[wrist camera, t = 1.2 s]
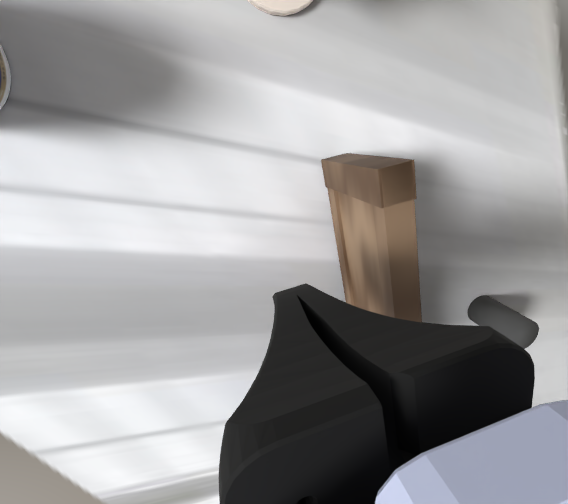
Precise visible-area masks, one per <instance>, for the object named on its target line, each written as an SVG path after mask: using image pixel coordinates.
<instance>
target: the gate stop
mask: <svg viewBox="0 0 568 504" xmlns="http://www.w3.org/2000/svg"><path fill="white" fill-rule="evenodd" d="M468 317H469V319H470V320H472V321H473V322H475V323H476V324H478V325H479V326H490V327H491V328H493V329H495V330H496V331H498V332H499V333H501V334H503V335H504V336H506V337H507V338H509V339H510V340H512V341H513V342H515V343H516V344H518V345H519V346H521V347H522V348H523V349H525V348H527V347H528V346H529V345H531V344H532V343H533V342H534V340H535V339H536V337H537V335H538V331H539V327H538V324H537V323H536V322H534V321H532V320H530V319H529V318H527V317H525V316H523V315H521V314H520V313H518V312H516V311H514V310H512V309H510V308H509V307H507V306H505V305H503V304H501V303H500V302H498V301H496V300H494V299H492V298H490V297H489V296H480V297H478V298H476V299H475V300H474V301H473V302H472V303H471V305H470V306H469V309H468Z"/></svg>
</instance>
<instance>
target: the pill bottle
mask: <svg viewBox="0 0 568 504" xmlns="http://www.w3.org/2000/svg"><path fill="white" fill-rule="evenodd" d="M10 86H11V74H10V68H9V64H8V60H7V58H6V55H5V53H4V50H3V48H2V47H1V45H0V109H1V108H2V107H3V105H4V104H5V102H6V100H7V98H8V95H9V92H10Z"/></svg>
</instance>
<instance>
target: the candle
mask: <svg viewBox="0 0 568 504" xmlns="http://www.w3.org/2000/svg"><path fill="white" fill-rule="evenodd" d="M247 1H249V2H250V3H251V4H252V5H254V6H255V7H256V8H257V9H259V10H261V11H264V12H266V13H268V14H271V15H280V16H286V15H290V14H295V13H297V12H299V11H301V10H302V9H304V8H306V7H307V6H308V5H309V4H310V3H311V2H312V1H313V0H247Z"/></svg>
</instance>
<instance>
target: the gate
mask: <svg viewBox="0 0 568 504" xmlns="http://www.w3.org/2000/svg"><path fill="white" fill-rule="evenodd" d="M321 162H322V168H323V174H324V180H325V186H326V187H327V188H328V194H329V201H330V207H331V213H332V219H333V225H334V231H335V237H336V243H337V250H338V256H339V262H340V268H341V274H342V280H343V286H344V293H345V299H346V303H348V304H351V305H353V306H356V307H358V308H361V309H364V310H367V311H370V312H374V313H378V314H381V315H385V316H389V317H393V318H398V319H404V320H409V321H415V322H422V318H421V301H420V285H419V269H418V252H417V236H416V220H415V203H414V199H416V183H415V166H414V160H410V159H400V158H390V157H379V156H369V155H359V154H349V153H346V154H342V155H338V156H334V157H330V158H326V159H322V160H321Z"/></svg>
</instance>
